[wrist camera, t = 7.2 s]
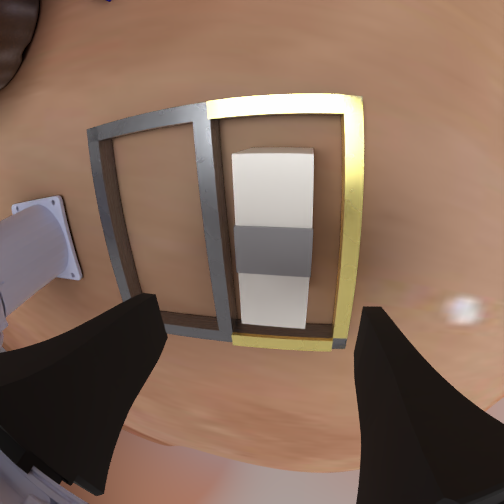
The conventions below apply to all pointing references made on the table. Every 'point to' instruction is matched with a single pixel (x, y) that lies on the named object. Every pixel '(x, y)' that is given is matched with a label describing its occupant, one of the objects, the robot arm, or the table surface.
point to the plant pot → (15, 34)
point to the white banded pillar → (273, 233)
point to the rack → (216, 217)
